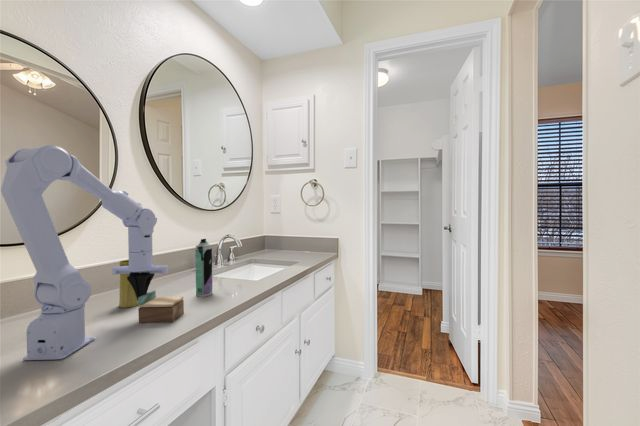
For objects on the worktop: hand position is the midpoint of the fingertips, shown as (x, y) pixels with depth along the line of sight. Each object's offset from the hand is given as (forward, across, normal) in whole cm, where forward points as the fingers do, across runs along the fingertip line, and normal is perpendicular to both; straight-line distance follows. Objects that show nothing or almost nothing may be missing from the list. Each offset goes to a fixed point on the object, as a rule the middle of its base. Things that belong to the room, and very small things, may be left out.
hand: (141, 299), depth 82 cm
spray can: (+6, -10, -22) cm, 25 cm away
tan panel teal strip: (+1, -6, 0) cm, 6 cm away
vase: (+6, +10, -12) cm, 17 cm away
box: (+5, -6, 0) cm, 8 cm away
